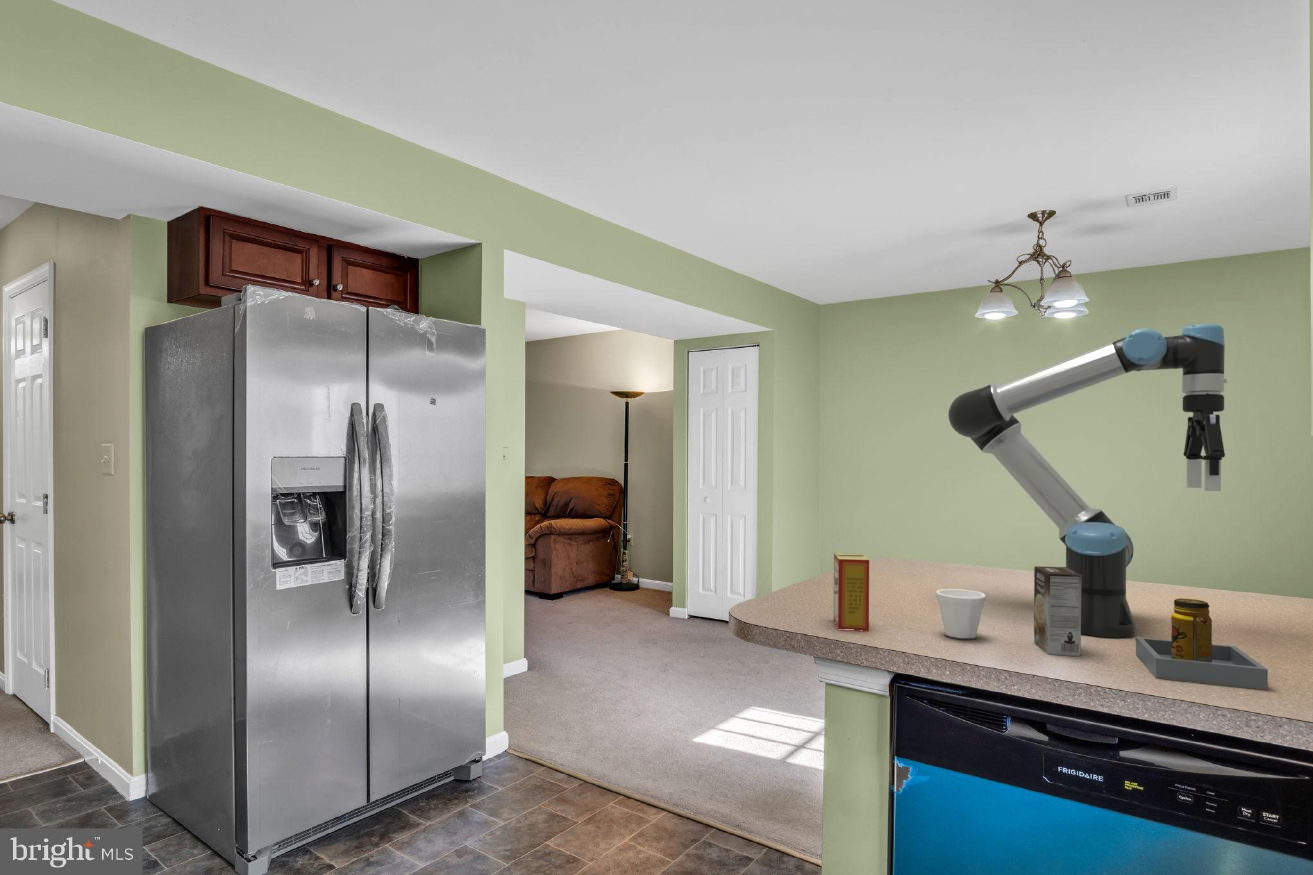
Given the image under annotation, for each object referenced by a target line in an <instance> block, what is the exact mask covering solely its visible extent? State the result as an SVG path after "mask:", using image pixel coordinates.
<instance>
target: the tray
mask: <svg viewBox="0 0 1313 875" xmlns="http://www.w3.org/2000/svg"><path fill="white" fill-rule="evenodd" d="M1171 641H1172V639H1164V638H1163V639H1161V638H1152V637H1143V636H1142V637H1141V636H1140V637H1138V636H1135V656H1136V657H1137V658H1138V659H1139V660H1140V662H1142V664H1143V665H1144V667H1146V669H1148V671H1149V673H1151V674H1152V676H1154V678H1155V679H1163V680H1169V681H1170V680H1172V681H1180V682H1187V683H1188V682H1189V683H1197V684H1206V685H1207V684H1209V685H1216V686H1225V687H1226V686H1227V687H1236V688H1242V689H1243V688H1244V689H1252V690H1253V689H1254V690H1262V691H1263V690H1264V691H1268V687H1269V686H1268V685H1269V684H1268V683H1269V682H1268V679H1269V676H1268V673H1269V672H1268V668H1267V667H1266V666H1264V665H1262V664H1260V662H1258V661H1256V660H1255V659H1254V658H1253V657H1251V656H1249V655H1248V654H1247V653H1246V652H1244V651H1243V650H1241V648H1239V647H1237V646H1236V645H1227V644H1215V643H1212V662H1202V661H1192V660H1182V659H1172V654H1171V651H1172V650H1171V649H1172V648H1171V647H1172V644H1171V643H1172V642H1171Z"/></svg>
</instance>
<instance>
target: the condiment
mask: <svg viewBox="0 0 1313 875" xmlns="http://www.w3.org/2000/svg"><path fill="white" fill-rule="evenodd" d="M1173 606H1174V607H1173V612H1172V614H1171V618H1170V620H1171V640H1172V641H1171V642H1172V643H1171V644H1172V647H1171V648H1172V649H1171V650H1172V651H1171V654H1172V659H1182V660H1192V661H1202V662H1212V644H1213V625H1212V624H1213V620H1212V617H1211V616H1210V610H1209V608H1210V605H1209V603H1208V602H1207V601H1205V600H1200V599H1194V598H1183V597H1182V598H1176V599H1174V600H1173Z"/></svg>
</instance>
